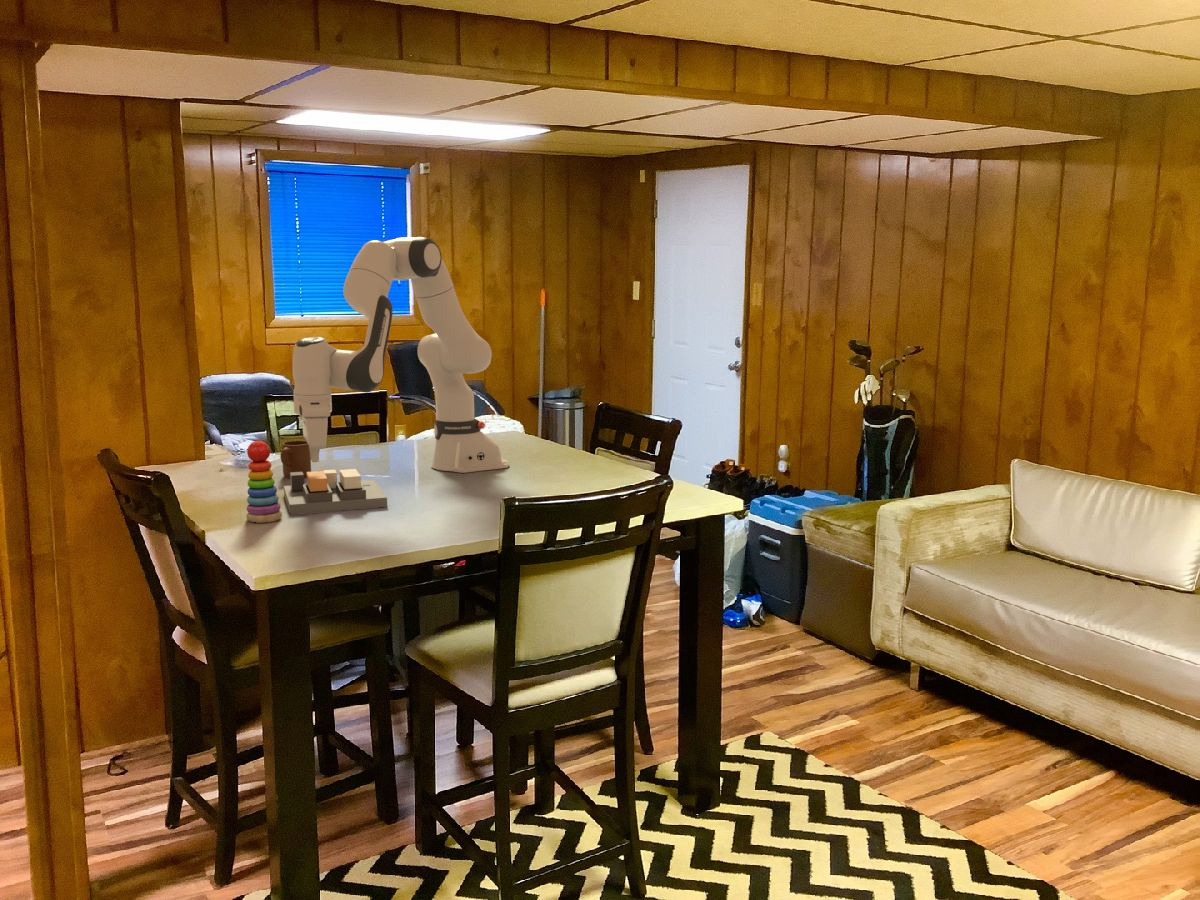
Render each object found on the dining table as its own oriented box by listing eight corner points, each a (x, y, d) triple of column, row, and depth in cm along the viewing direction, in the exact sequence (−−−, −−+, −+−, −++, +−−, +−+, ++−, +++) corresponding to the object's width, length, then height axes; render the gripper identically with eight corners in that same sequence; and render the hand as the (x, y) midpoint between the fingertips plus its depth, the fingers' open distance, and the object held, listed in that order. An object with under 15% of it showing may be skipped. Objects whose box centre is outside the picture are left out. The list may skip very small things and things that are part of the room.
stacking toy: (274, 513, 243) (270, 436, 239) (287, 520, 237) (283, 441, 233) (241, 518, 238) (237, 440, 235) (253, 525, 232) (249, 445, 228)
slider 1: (303, 486, 259) (302, 471, 258) (304, 490, 255) (303, 474, 254) (290, 487, 257) (290, 472, 257) (292, 491, 254) (291, 475, 253)
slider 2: (335, 484, 261) (335, 469, 261) (337, 488, 258) (336, 472, 257) (323, 485, 260) (323, 470, 260) (325, 488, 257) (324, 473, 256)
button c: (323, 482, 254) (323, 470, 253) (327, 490, 246) (327, 478, 245) (307, 483, 252) (306, 471, 252) (310, 491, 244) (309, 479, 244)
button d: (356, 480, 257) (355, 468, 256) (361, 488, 248) (360, 476, 248) (339, 481, 255) (339, 469, 255) (344, 489, 247) (343, 477, 246)
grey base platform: (374, 489, 269) (373, 471, 268) (387, 507, 250) (386, 488, 249) (284, 495, 261) (283, 477, 260) (290, 514, 242) (289, 495, 241)
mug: (296, 482, 276) (294, 448, 274) (270, 481, 277) (268, 447, 275) (316, 473, 287) (314, 441, 286) (291, 472, 289) (289, 440, 287)
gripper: (295, 400, 253) (297, 454, 256) (302, 411, 235) (304, 469, 237) (321, 399, 256) (323, 453, 258) (330, 410, 237) (332, 468, 239)
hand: (314, 461), depth 248 cm, fingers closed
